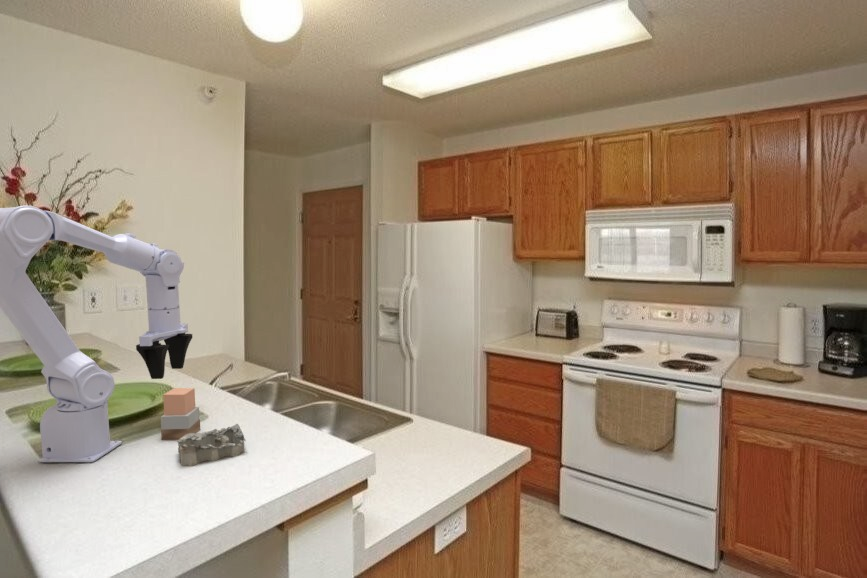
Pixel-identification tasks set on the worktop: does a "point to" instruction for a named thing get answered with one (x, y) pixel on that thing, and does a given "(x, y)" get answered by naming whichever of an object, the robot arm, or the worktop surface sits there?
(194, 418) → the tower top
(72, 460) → the robot arm
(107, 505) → the worktop surface
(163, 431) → the tower base
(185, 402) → the terracotta cube
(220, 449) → the egg carton
